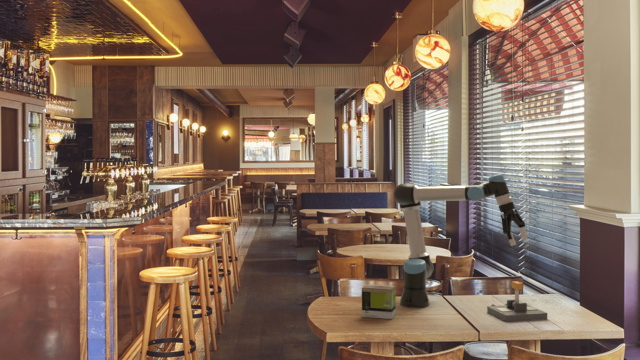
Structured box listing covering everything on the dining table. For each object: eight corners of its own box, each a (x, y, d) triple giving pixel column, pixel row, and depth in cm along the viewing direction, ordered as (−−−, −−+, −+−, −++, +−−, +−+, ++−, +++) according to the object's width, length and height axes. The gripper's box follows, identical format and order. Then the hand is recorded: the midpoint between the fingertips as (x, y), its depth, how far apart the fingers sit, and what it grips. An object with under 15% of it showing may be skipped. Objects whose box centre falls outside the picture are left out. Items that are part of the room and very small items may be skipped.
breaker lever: (516, 310, 287) (517, 283, 286) (511, 307, 292) (511, 281, 291) (522, 309, 287) (522, 283, 287) (516, 307, 292) (517, 281, 292)
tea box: (395, 314, 291) (396, 285, 290) (391, 320, 281) (391, 289, 281) (366, 312, 295) (366, 283, 295) (361, 317, 286) (361, 287, 286)
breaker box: (505, 321, 278) (505, 307, 278) (479, 308, 304) (479, 295, 304) (547, 319, 283) (547, 304, 283) (518, 306, 308) (518, 293, 308)
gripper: (500, 205, 294) (515, 246, 291) (522, 197, 311) (536, 235, 309) (487, 209, 299) (501, 249, 296) (510, 201, 317) (523, 238, 314)
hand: (519, 242), depth 303 cm, fingers open, 13 cm apart
